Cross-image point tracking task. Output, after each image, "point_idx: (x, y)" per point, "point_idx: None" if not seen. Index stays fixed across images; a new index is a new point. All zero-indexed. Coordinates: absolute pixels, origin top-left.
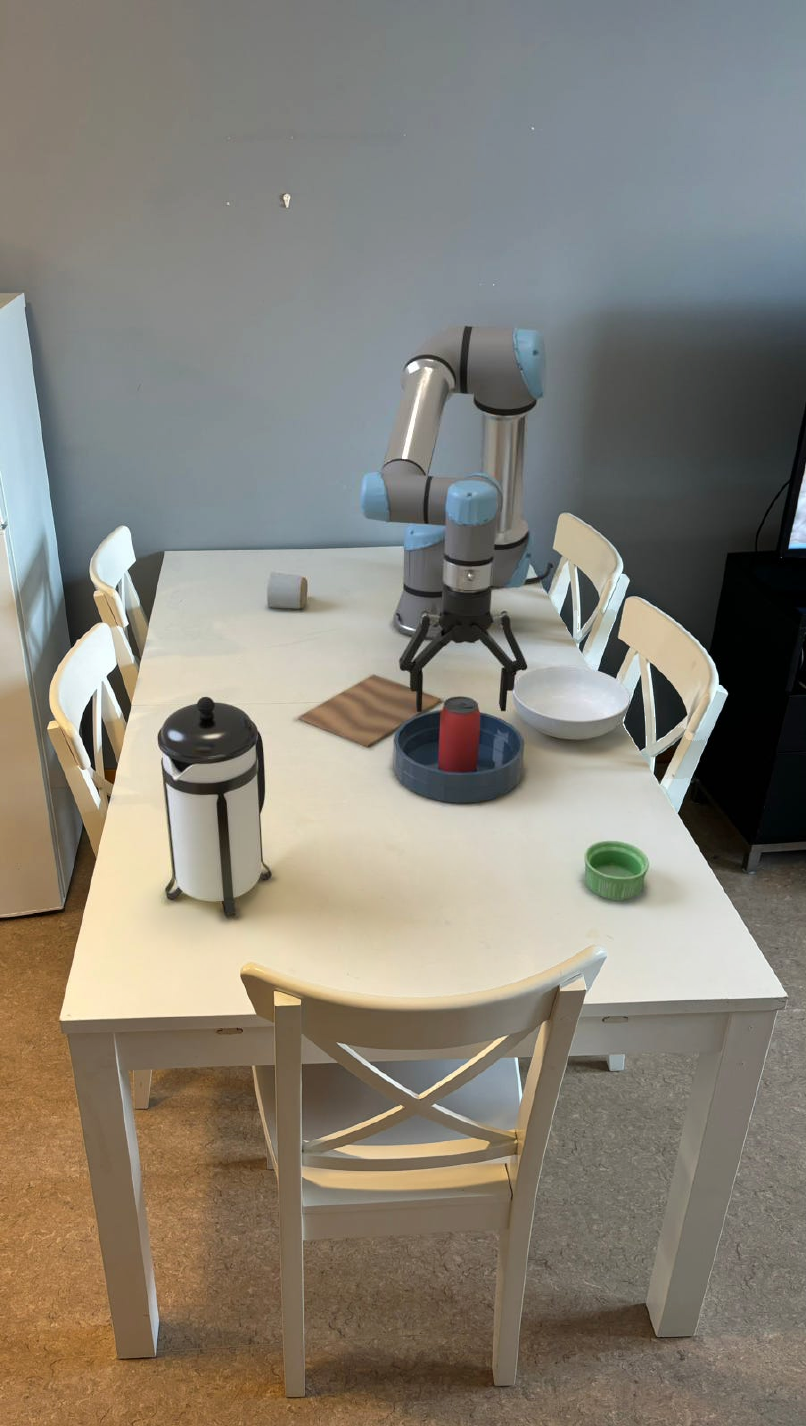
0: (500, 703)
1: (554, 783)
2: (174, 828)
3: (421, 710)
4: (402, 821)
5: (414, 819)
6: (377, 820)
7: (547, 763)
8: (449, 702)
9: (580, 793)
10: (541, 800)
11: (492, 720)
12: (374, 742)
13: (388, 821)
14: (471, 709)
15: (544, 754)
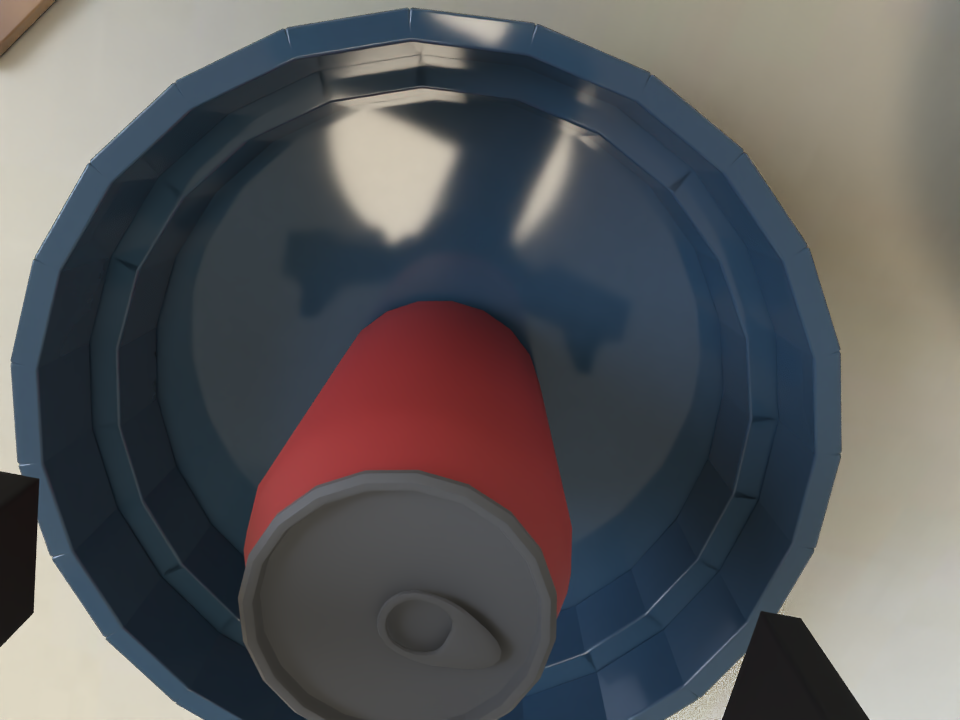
0: (751, 708)
1: (836, 598)
2: None
3: (23, 619)
4: (107, 708)
5: (157, 706)
6: (5, 683)
7: (897, 439)
8: (311, 533)
9: (902, 685)
10: (715, 696)
11: (749, 221)
12: (29, 22)
13: (50, 697)
14: (472, 686)
15: (929, 356)
